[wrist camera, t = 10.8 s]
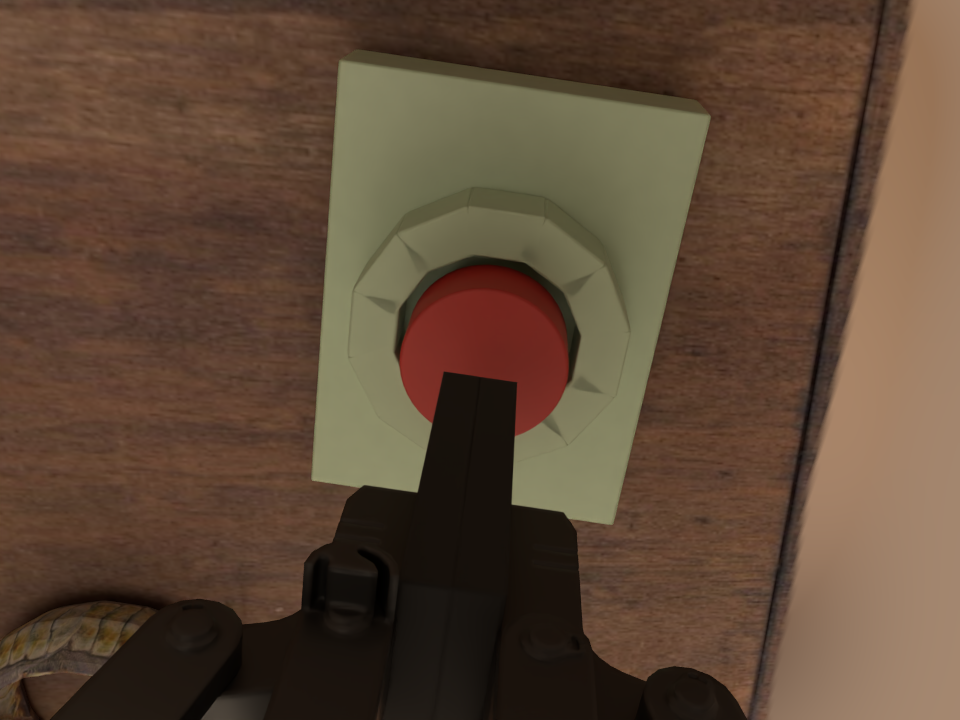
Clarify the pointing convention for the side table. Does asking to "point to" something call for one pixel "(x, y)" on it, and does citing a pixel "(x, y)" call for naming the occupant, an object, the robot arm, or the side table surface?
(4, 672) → the decorative ring
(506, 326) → the button
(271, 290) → the side table surface
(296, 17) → the side table surface
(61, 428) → the side table surface
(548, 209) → the box
